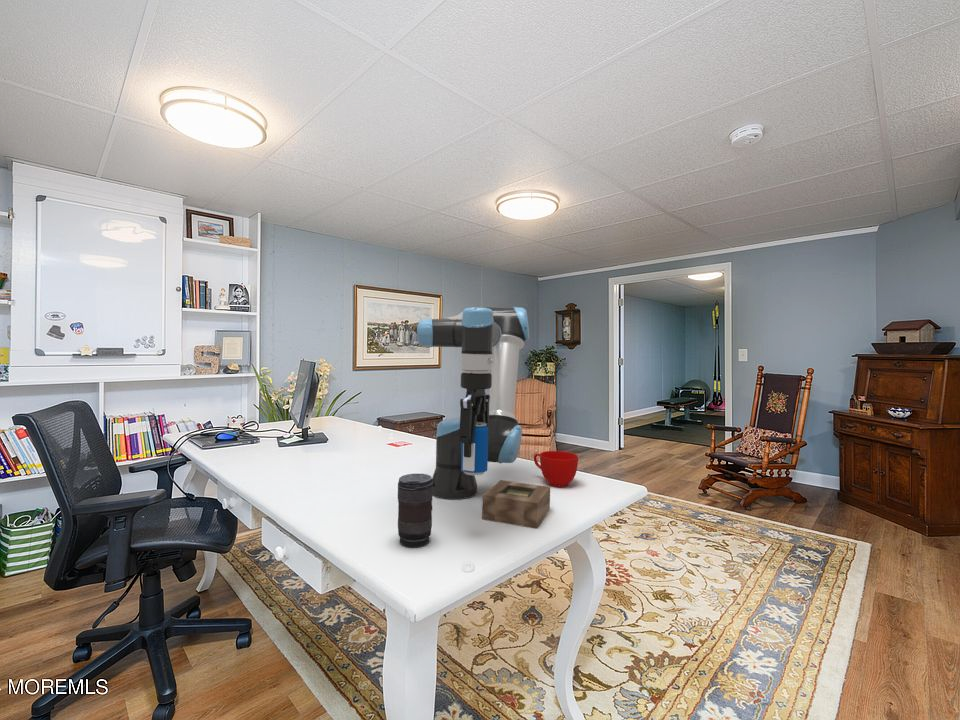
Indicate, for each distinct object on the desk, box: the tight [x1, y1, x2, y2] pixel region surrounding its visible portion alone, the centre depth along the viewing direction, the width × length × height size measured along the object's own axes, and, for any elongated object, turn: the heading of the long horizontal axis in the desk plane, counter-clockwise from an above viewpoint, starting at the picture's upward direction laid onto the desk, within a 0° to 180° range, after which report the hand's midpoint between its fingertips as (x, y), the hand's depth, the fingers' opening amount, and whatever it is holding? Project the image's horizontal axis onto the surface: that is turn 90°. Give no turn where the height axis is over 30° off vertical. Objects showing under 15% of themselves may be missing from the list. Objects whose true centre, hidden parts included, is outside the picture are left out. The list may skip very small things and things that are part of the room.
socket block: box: [481, 480, 551, 529], centre depth 121 cm, size 15×15×6 cm
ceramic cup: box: [533, 450, 579, 488], centre depth 152 cm, size 13×17×10 cm
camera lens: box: [397, 473, 434, 548], centre depth 102 cm, size 8×8×15 cm
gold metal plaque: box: [505, 489, 531, 497], centre depth 121 cm, size 7×7×1 cm
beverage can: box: [461, 422, 489, 476], centre depth 106 cm, size 6×6×12 cm
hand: (474, 466), depth 107 cm, fingers closed on beverage can, 6 cm apart
